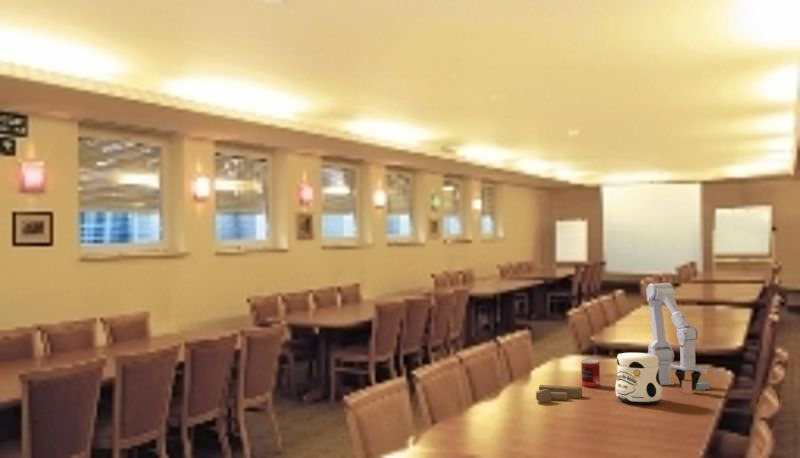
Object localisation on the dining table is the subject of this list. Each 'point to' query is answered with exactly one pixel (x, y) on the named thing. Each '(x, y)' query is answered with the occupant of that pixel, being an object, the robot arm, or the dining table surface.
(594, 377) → the canned food
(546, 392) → the wooden block set
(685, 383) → the top brick
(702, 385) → the base brick
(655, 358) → the milk container
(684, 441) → the dining table surface
